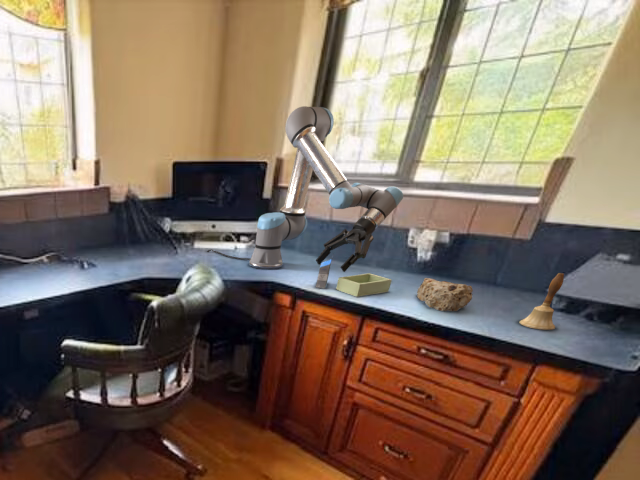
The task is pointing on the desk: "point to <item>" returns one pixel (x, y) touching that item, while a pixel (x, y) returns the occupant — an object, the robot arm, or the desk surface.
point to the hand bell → (544, 308)
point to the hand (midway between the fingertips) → (329, 266)
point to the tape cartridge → (323, 274)
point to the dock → (363, 284)
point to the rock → (444, 294)
